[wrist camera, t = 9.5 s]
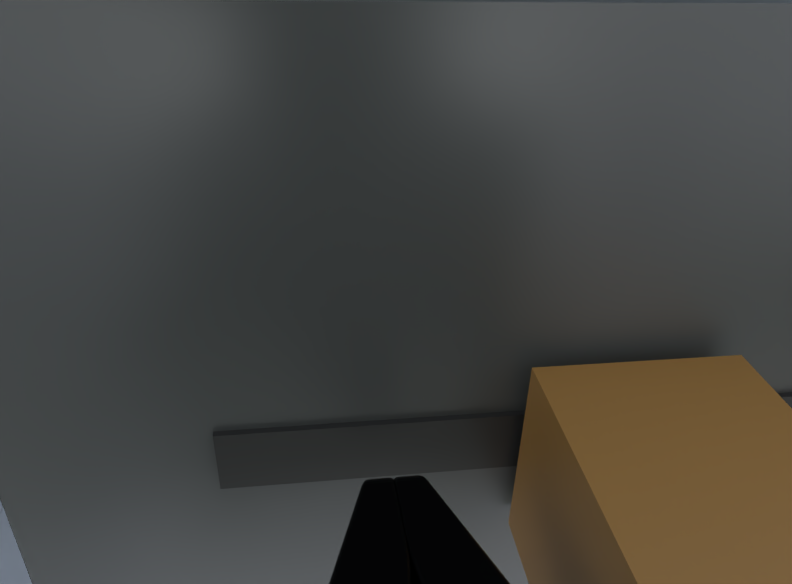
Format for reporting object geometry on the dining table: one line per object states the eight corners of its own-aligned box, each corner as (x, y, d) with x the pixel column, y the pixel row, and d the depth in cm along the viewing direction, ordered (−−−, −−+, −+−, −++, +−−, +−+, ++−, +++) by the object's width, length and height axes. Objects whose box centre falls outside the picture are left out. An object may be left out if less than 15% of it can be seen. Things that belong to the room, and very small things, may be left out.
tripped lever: (508, 522, 11) (608, 820, 7) (532, 366, 9) (670, 652, 6) (689, 507, 11) (864, 783, 8) (741, 354, 10) (987, 615, 6)
